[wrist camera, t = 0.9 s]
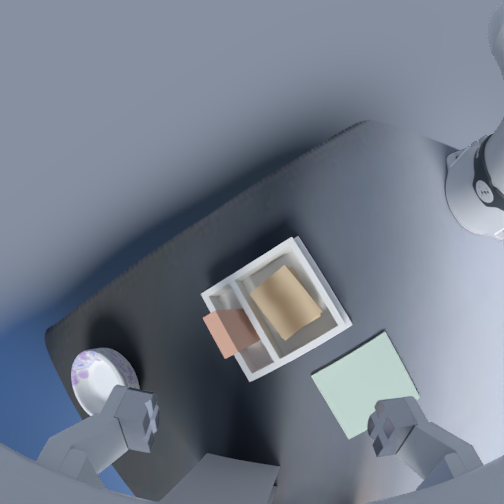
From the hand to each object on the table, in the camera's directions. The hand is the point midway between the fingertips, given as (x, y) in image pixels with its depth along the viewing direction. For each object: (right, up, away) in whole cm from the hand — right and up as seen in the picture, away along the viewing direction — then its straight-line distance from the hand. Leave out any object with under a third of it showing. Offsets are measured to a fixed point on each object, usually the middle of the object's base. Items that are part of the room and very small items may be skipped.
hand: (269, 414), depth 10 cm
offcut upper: (+5, -2, +37) cm, 37 cm away
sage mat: (+18, -17, +34) cm, 42 cm away
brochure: (-2, -36, +37) cm, 51 cm away
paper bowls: (-28, -21, +46) cm, 58 cm away
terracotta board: (-1, -7, +40) cm, 40 cm away
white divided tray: (+3, -4, +40) cm, 40 cm away
